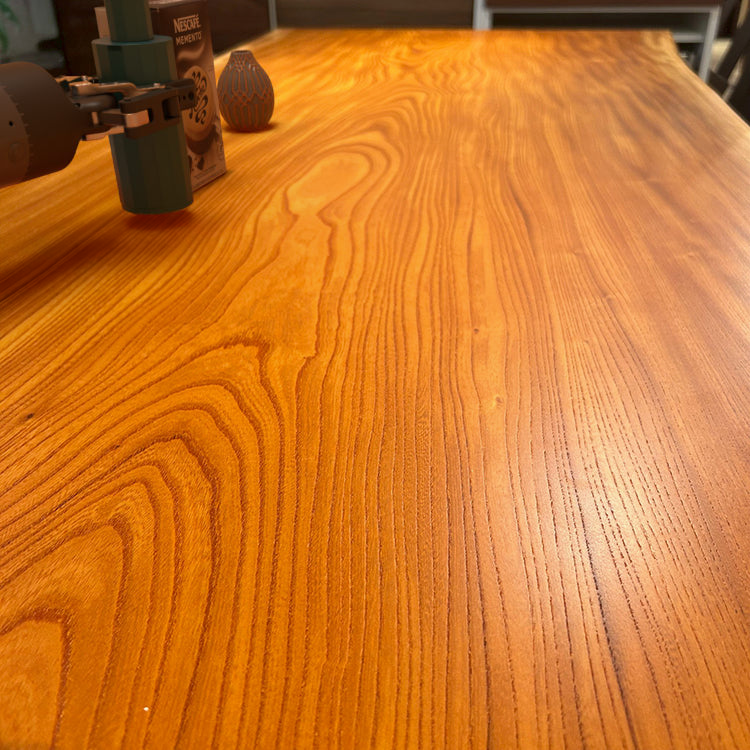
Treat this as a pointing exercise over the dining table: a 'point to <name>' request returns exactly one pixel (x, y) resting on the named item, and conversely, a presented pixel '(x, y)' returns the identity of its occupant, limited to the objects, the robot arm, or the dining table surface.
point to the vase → (245, 93)
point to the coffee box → (195, 61)
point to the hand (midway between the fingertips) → (161, 88)
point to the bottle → (156, 150)
